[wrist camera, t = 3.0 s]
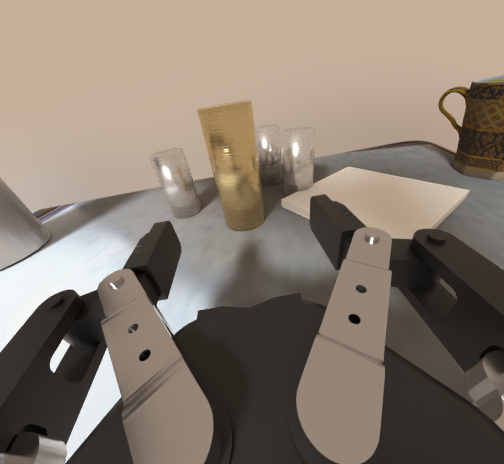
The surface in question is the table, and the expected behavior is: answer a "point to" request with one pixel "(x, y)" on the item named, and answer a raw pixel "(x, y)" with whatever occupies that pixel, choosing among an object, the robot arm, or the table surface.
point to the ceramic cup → (480, 129)
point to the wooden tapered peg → (234, 162)
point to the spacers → (269, 157)
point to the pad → (383, 200)
